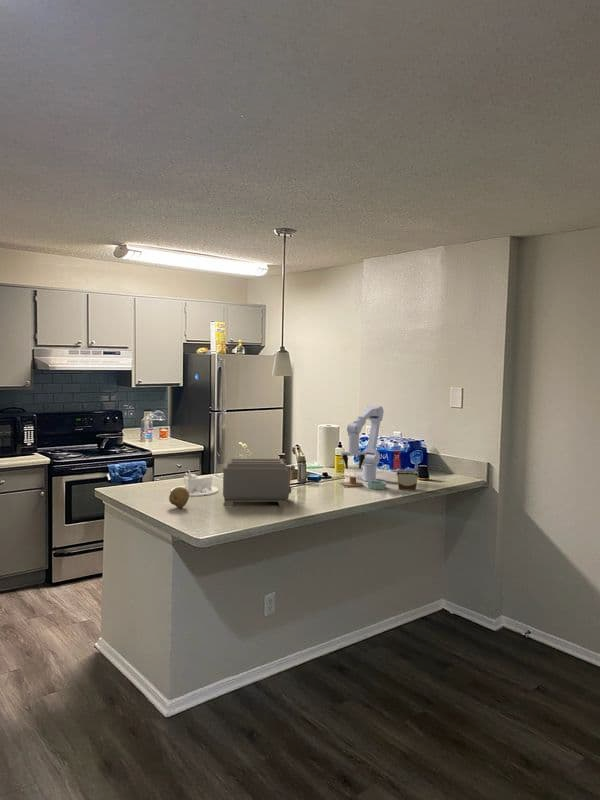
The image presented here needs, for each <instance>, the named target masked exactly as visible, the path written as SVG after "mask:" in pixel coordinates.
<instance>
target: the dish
mask: <svg viewBox="0 0 600 800" xmlns="http://www.w3.org/2000/svg"><path fill="white" fill-rule="evenodd" d="M187 471H188V472H185V476H183V485H179V486H174V487H173V488H171V489H170V491H171V492H172V490H173V489H175V488H177V487H183V488H185V489H186V490H187V491H188V492H189V497H205V496H204V495H207V496H212V495H216V494H218V493H219V488H218V487H217V486H213V477H212V476H198V475H196V474H195V473H191V471H190V470H189V469H187ZM171 492H170V493H171ZM217 492H218V493H217ZM211 494H212V495H211Z"/></svg>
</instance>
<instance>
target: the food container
mask: <svg viewBox="0 0 600 800" xmlns="http://www.w3.org/2000/svg"><path fill="white" fill-rule="evenodd" d="M396 476H397V486H398V491H399V490H400V491H401V490H402V491H416V490H417V483H418V477H420V475H419V471H416V470H411V469H410V470H409V469H399V470H397V471H396Z"/></svg>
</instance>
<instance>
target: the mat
mask: <svg viewBox="0 0 600 800" xmlns="http://www.w3.org/2000/svg"><path fill="white" fill-rule="evenodd" d="M343 483H344V482H339V484H340V485H341V484H342V485H343ZM342 485H341V486H342ZM343 486H344V485H343ZM343 486H342V487H343ZM345 487H349V486H344V487H343V488H345ZM359 487H365V488H367V487H366V486H365V485H364V484H363V485H362V486H359Z"/></svg>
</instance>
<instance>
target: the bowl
mask: <svg viewBox="0 0 600 800" xmlns="http://www.w3.org/2000/svg"><path fill="white" fill-rule="evenodd" d="M367 488H368V489H370V488H371V489H370V490H376V489H381V490H385V489H387V482H386V481H383V480H378V481H367Z"/></svg>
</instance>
